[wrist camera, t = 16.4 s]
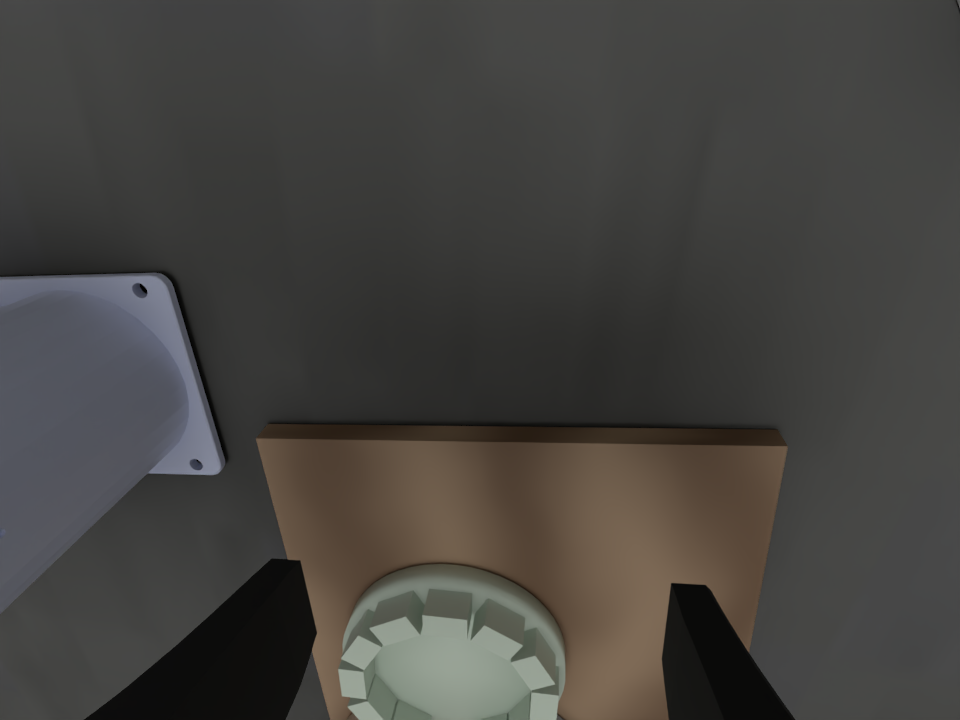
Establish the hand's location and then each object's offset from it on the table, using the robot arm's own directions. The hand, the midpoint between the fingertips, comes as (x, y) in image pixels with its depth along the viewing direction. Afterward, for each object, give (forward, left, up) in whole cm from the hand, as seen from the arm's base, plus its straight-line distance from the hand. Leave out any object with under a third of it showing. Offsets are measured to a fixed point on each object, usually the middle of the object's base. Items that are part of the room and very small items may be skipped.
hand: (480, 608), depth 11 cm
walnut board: (0, -12, -10) cm, 15 cm away
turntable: (-1, -14, -8) cm, 17 cm away
